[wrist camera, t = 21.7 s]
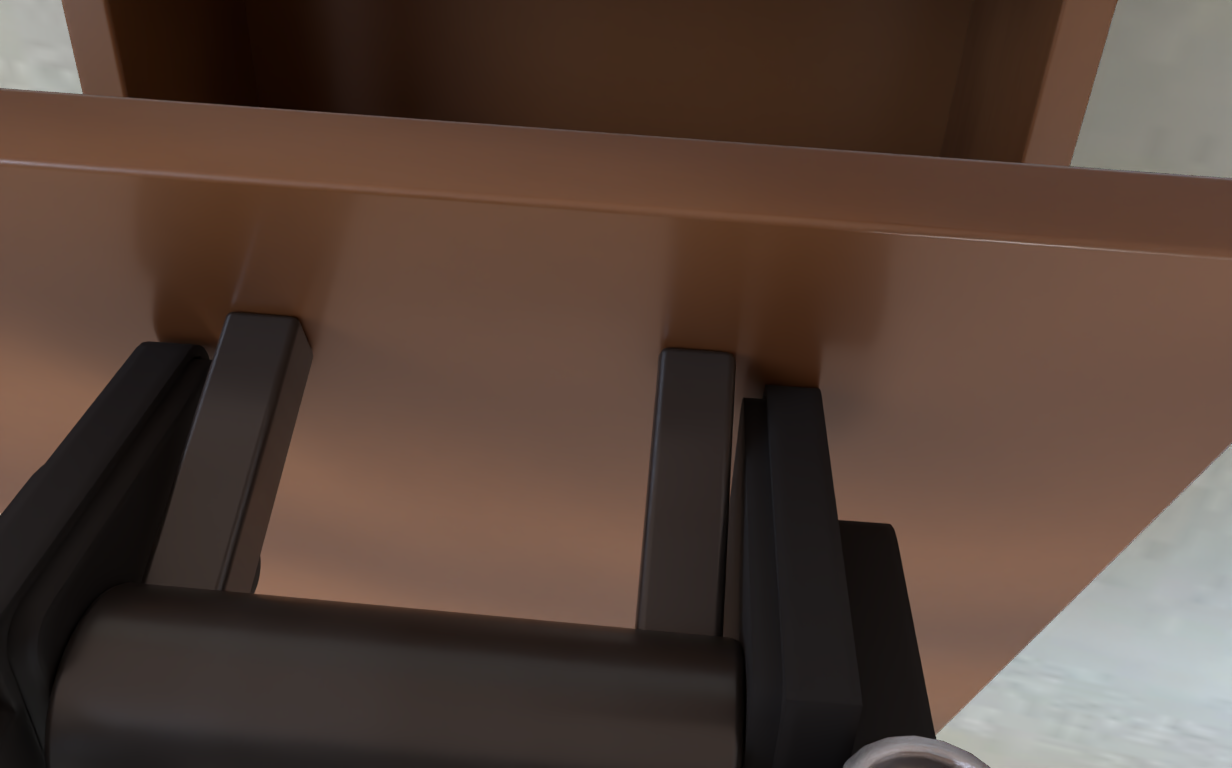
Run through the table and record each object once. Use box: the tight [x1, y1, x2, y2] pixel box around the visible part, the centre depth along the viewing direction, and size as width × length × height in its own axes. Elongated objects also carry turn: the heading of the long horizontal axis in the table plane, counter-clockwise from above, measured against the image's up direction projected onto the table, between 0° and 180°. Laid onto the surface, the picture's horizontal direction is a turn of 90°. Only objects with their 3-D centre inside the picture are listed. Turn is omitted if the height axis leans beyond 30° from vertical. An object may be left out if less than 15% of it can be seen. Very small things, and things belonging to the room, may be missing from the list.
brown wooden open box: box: [62, 0, 1118, 166], centre depth 21 cm, size 15×14×6 cm
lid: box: [0, 88, 1232, 768], centre depth 15 cm, size 16×14×5 cm
